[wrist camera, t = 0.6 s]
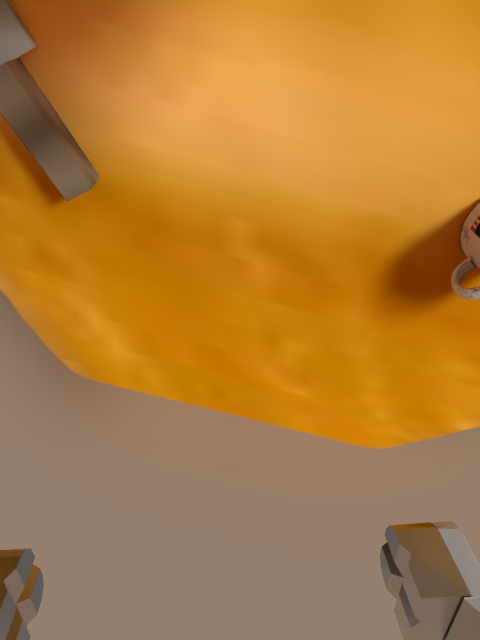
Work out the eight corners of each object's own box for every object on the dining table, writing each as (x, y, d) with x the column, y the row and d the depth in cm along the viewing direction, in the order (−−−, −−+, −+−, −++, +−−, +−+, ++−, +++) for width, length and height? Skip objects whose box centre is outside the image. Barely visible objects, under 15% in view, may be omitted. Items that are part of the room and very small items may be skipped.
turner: (115, 166, 39) (109, 178, 36) (59, 196, 40) (50, 209, 37) (-35, -68, 29) (-57, -73, 27) (-103, -19, 30) (-130, -19, 28)
